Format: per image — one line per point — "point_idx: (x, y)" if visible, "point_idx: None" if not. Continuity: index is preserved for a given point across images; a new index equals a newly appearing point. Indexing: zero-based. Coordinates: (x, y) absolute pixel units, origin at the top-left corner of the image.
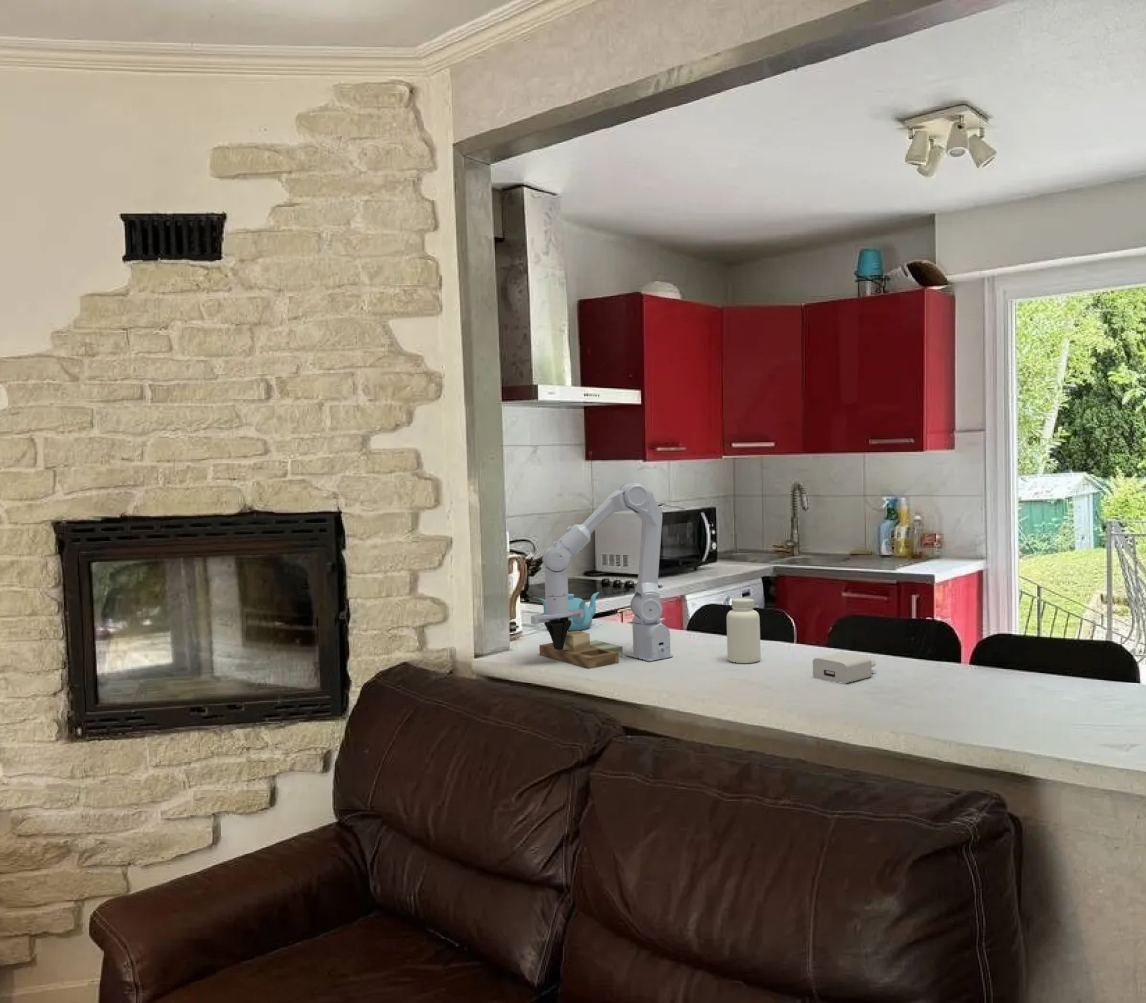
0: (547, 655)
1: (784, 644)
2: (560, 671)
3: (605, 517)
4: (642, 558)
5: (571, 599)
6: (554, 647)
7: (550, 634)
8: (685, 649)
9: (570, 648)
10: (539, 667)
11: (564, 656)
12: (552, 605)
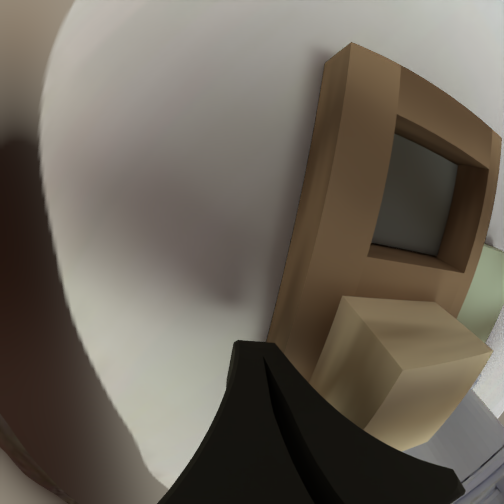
0: (312, 146)
1: (500, 413)
2: (134, 413)
3: None
4: None
5: None
6: (234, 351)
7: (211, 430)
8: (491, 386)
9: (318, 383)
10: (96, 317)
11: (275, 343)
12: None
